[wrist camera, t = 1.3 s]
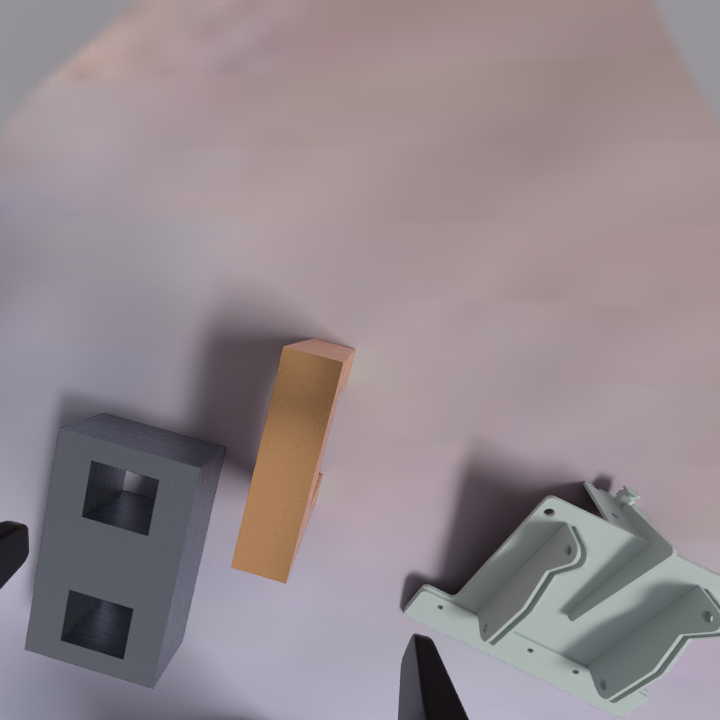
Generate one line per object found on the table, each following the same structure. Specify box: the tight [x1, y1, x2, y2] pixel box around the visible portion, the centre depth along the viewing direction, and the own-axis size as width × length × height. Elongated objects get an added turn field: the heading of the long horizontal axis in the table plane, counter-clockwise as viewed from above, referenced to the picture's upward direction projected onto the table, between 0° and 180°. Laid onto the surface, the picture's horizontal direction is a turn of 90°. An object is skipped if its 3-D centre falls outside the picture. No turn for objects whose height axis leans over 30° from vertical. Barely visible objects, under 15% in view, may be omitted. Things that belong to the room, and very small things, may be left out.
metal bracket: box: [404, 481, 720, 717], centre depth 20 cm, size 14×6×15 cm
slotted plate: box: [25, 413, 226, 689], centre depth 21 cm, size 14×8×3 cm, turn 165°
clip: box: [231, 338, 356, 583], centre depth 18 cm, size 10×2×6 cm, turn 165°
